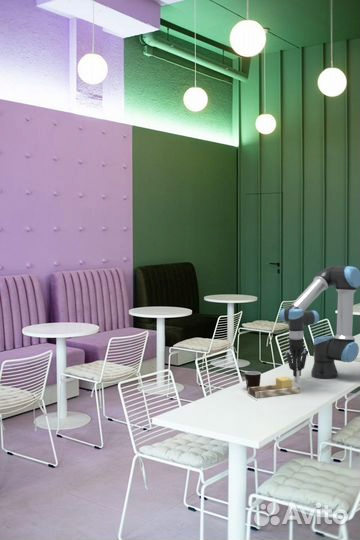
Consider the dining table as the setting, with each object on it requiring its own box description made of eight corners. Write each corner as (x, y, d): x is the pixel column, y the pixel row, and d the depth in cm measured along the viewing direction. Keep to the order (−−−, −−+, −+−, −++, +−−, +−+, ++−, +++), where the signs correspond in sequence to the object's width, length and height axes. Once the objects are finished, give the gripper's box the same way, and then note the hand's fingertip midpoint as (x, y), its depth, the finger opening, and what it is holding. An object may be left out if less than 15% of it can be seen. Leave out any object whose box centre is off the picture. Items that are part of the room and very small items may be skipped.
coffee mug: (260, 393, 329) (260, 374, 328) (244, 393, 331) (244, 374, 330) (262, 388, 340) (261, 370, 340) (246, 387, 342) (246, 369, 342)
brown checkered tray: (290, 390, 334) (289, 382, 334) (300, 395, 322) (300, 387, 322) (247, 395, 326) (247, 387, 326) (257, 400, 315) (256, 392, 315)
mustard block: (286, 389, 330) (286, 376, 330) (292, 392, 324) (292, 379, 323) (276, 390, 329) (275, 377, 328) (282, 394, 322) (281, 380, 321)
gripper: (288, 340, 321) (289, 385, 323) (310, 338, 325) (311, 382, 326) (281, 338, 328) (282, 382, 330) (303, 336, 332) (304, 379, 334)
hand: (297, 382), depth 328 cm, fingers closed
